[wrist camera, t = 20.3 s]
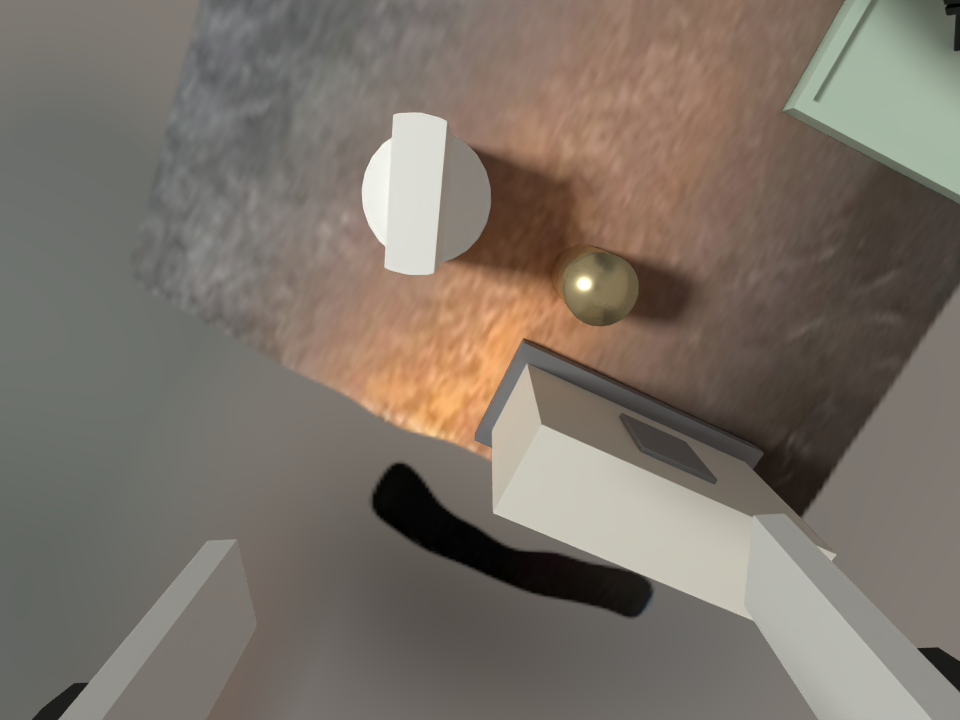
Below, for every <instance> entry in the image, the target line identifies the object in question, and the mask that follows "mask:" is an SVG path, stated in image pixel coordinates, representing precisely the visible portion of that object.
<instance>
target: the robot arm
mask: <svg viewBox="0 0 960 720" xmlns="http://www.w3.org/2000/svg"><path fill="white" fill-rule="evenodd" d="M744 606H745V608H746V609H747V611H748V612H749V614H750V615H751V617H752V618H753V620H754V621H755V623H756V624H757V626H758V627H759V629H760V630H761V632H762V634H763V635H764V637H765V638H766V640H767V641H768V643H769V644H770V646H771V647H772V649H773V651H774V652H775V653H776V655H777V657H778V658H779V660H780V661H781V663H782V664H783V666H784V667H785V669H786V671H787V672H788V674H789V675H790V677H791V678H792V680H793V681H794V683H795V684H796V686H797V687H798V689H799V691H800V692H801V694H802V695H803V697H804V698H805V700H806V701H807V703H808V704H809V706H810V707H811V709H812V711H813V712H814V713H815V715H816V717H817V718H818V720H960V661H958V660H957V659H955V658H954V657H952V656H950V655H949V654H947V653H946V652H944V651H943V650H941V649H940V648H916V647H915V646H914V645H913V644H912V643H911V642H910V641H909V640H908V639H907V638H906V637H905V636H904V635H903V634H902V633H901V632H900V631H899V630H898V629H897V628H896V627H895V626H894V625H893V624H892V623H891V622H890V621H889V620H888V619H887V618H886V617H885V616H884V615H883V614H882V613H881V612H880V611H879V610H878V608H877V607H876V606H875V605H874V604H873V603H872V602H871V601H870V600H869V599H868V598H867V597H866V596H865V595H864V594H863V593H862V592H861V591H860V590H859V589H858V588H857V587H856V586H855V585H854V584H853V583H852V582H851V581H850V580H849V579H848V578H847V577H846V576H845V575H844V574H843V573H842V572H841V571H840V570H839V569H838V568H837V567H836V566H835V564H834V563H833V562H832V561H831V560H830V559H829V558H828V557H827V556H826V555H825V554H824V553H823V552H822V551H821V550H820V549H819V548H818V547H817V546H816V545H815V544H814V543H813V542H812V541H811V540H810V539H809V538H808V537H807V536H806V535H805V534H804V533H803V532H802V531H801V530H800V529H799V528H798V527H797V526H796V525H795V524H794V523H793V522H792V521H791V519H790V518H789V517H788V516H787V515H786V514H764V515H754V516H753V525H752V534H751V543H750V553H749V562H748V571H747V580H746V590H745V599H744ZM256 627H257V623H256V619H255V614H254V610H253V606H252V602H251V598H250V593H249V589H248V585H247V580H246V577H245V572H244V568H243V563H242V559H241V555H240V551H239V546H238V542H237V539H236V540H214V541H207V542H206V543H205V545H204V546H203V547H202V548H201V549H200V551H199V552H198V553H197V554H196V555H195V557H194V558H193V559H192V560H191V561H190V562H189V564H188V565H187V566H186V567H185V569H184V570H183V571H182V572H181V573H180V575H179V576H178V577H177V578H176V579H175V580H174V582H173V583H172V584H171V585H170V586H169V588H168V589H167V590H166V591H165V593H164V594H163V595H162V596H161V597H160V599H159V600H158V601H157V602H156V603H155V605H154V606H153V607H152V608H151V610H149V612H148V613H147V614H146V615H145V616H144V618H143V619H142V620H141V621H140V623H139V624H138V625H137V626H136V627H135V629H134V630H133V631H132V632H131V633H130V634H129V636H128V637H127V638H126V639H125V641H124V642H123V643H122V644H121V645H120V646H119V648H118V649H117V650H116V651H115V652H114V654H113V655H112V656H111V657H110V658H109V660H108V661H107V662H106V663H105V664H104V666H103V667H102V668H101V669H100V670H99V672H98V673H97V674H96V675H95V676H94V678H93V679H92V680H91V681H90V682H89V683H74V684H73V685H71V686H70V687H69V688H68V689H66V690H65V691H64V692H62V693H61V694H60V695H59V696H57V697H56V698H55V699H53V700H52V701H51V702H50V703H48V704H47V705H46V706H45V707H44V708H42V709H41V710H40V711H39V713H38V714H37V715H36V716H35V717H34V718H33V719H32V720H206V718H207V716H208V715H209V713H210V711H211V709H212V707H213V705H214V704H215V702H216V700H217V698H218V696H219V694H220V693H221V691H222V689H223V687H224V685H225V683H226V682H227V680H228V678H229V676H230V674H231V672H232V671H233V669H234V667H235V665H236V663H237V661H238V660H239V658H240V656H241V654H242V652H243V650H244V649H245V647H246V645H247V643H248V641H249V640H250V638H251V636H252V634H253V632H254V630H255V629H256Z"/></svg>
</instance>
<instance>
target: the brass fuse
mask: <svg viewBox="0 0 960 720" xmlns="http://www.w3.org/2000/svg"><path fill="white" fill-rule="evenodd" d="M552 283H553V286H554V289H555V290H556V292H557V293H558V295H559V296H560V297H561V299H562V300H563V301H564V303H565V304H566V305H567V307H568V308H569V309H570V311H571V312H572V313H573V314H574V315H575V316H576V317H577V318H578V319H579V320H580V321H582V322H584V323H586V324H589V325H592V326H607V325H611V324H614V323H616V322H618V321H620V320H621V319H623V318H624V317H625V316H626V315H627V314H628V313H629V312H630V311H631V310H632V308H633V307H634V305H635V303H636V300H637V297H638V292H639V283H638V278H637V275H636V273H635V271H634V269H633V268H632V266H631V265H630V264H629V263H628V262H627V261H625V260H624V259H622V258H620V257H618V256H616V255H613V254H611V253H609V252H606V251H604V250H601V249H599V248H596V247H594V246H591V245H576V246H573V247H570V248H568V249H567V250H565V251H564V252H563V253H562V254H561V255H560V256H559V257H558V258H557V260H556V261H555V264H554V266H553V270H552Z"/></svg>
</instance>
